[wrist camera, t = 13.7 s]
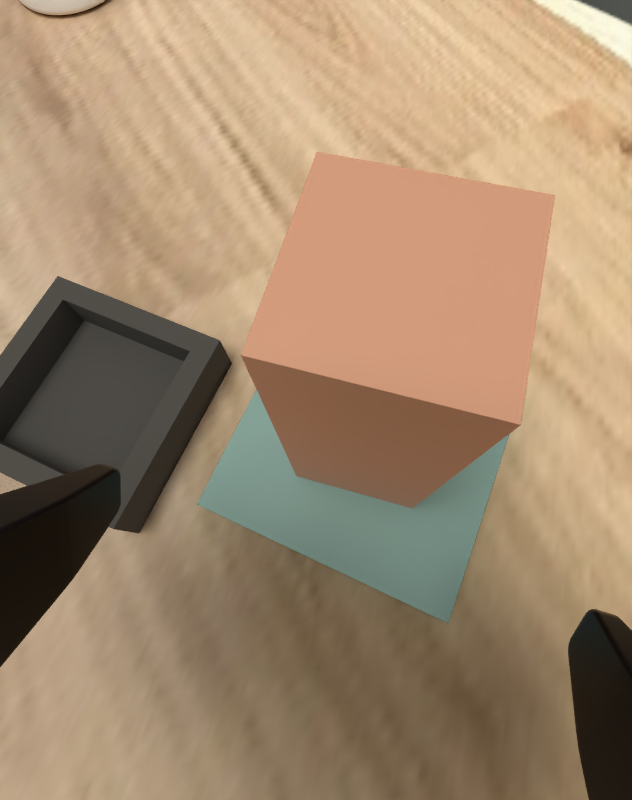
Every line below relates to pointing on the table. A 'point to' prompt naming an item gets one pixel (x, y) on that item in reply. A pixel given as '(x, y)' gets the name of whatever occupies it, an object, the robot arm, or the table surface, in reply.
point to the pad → (354, 517)
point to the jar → (60, 6)
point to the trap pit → (103, 394)
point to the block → (398, 325)
